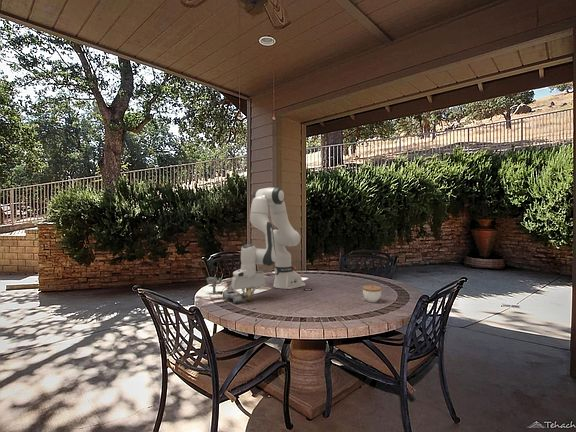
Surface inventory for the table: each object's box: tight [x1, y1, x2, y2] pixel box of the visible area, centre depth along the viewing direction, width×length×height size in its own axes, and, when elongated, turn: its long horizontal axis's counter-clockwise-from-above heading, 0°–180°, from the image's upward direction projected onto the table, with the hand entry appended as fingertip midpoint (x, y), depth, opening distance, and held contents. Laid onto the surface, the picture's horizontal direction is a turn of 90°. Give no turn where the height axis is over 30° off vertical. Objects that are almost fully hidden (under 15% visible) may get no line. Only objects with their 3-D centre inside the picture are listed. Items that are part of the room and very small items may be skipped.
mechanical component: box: [205, 276, 223, 295], centre depth 215 cm, size 3×10×10 cm, turn 79°
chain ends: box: [222, 289, 246, 305], centre depth 200 cm, size 16×16×4 cm
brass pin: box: [245, 288, 252, 302], centre depth 198 cm, size 3×3×8 cm
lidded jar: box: [362, 284, 382, 303], centre depth 196 cm, size 11×11×9 cm
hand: (248, 295), depth 198 cm, fingers closed on brass pin, 3 cm apart
